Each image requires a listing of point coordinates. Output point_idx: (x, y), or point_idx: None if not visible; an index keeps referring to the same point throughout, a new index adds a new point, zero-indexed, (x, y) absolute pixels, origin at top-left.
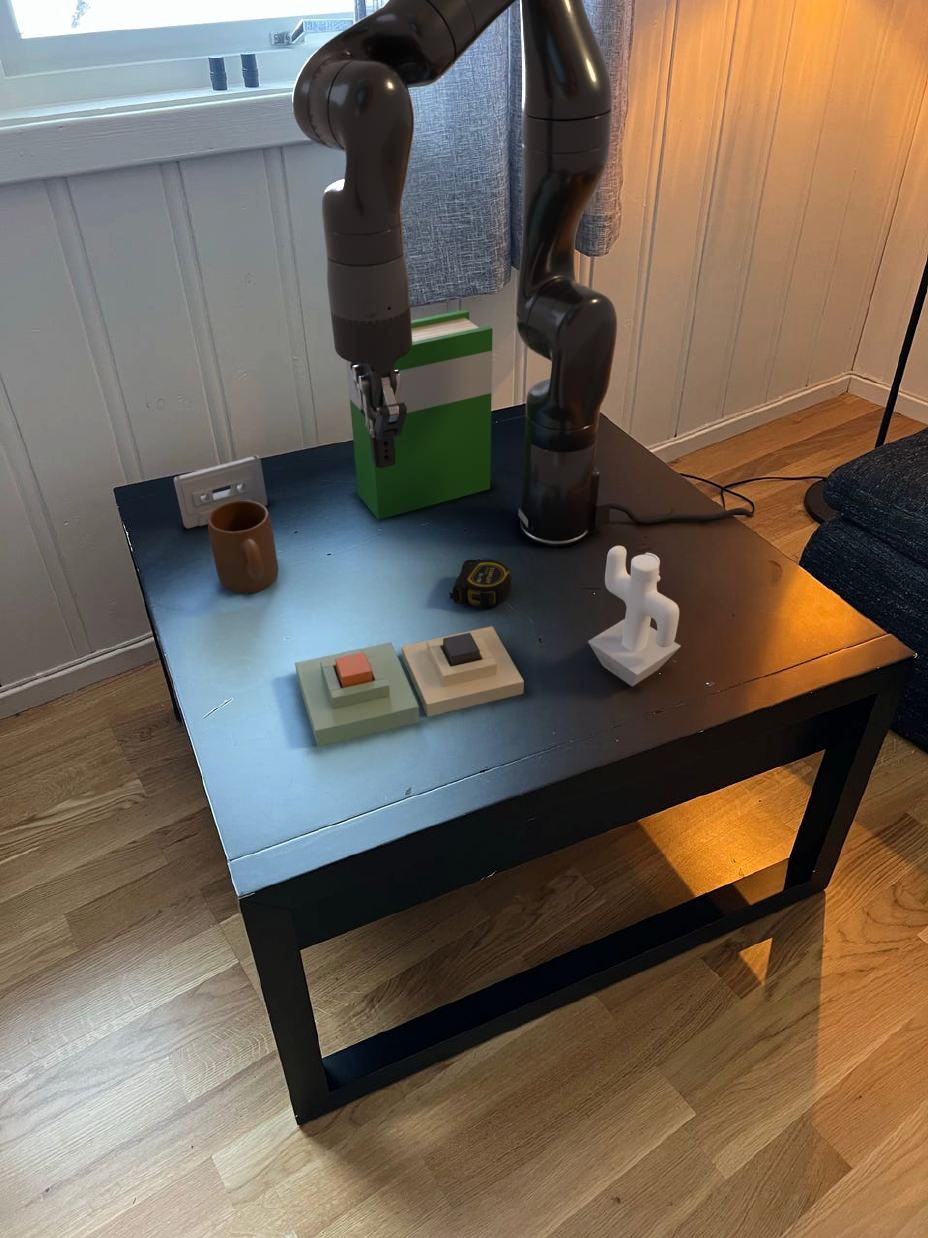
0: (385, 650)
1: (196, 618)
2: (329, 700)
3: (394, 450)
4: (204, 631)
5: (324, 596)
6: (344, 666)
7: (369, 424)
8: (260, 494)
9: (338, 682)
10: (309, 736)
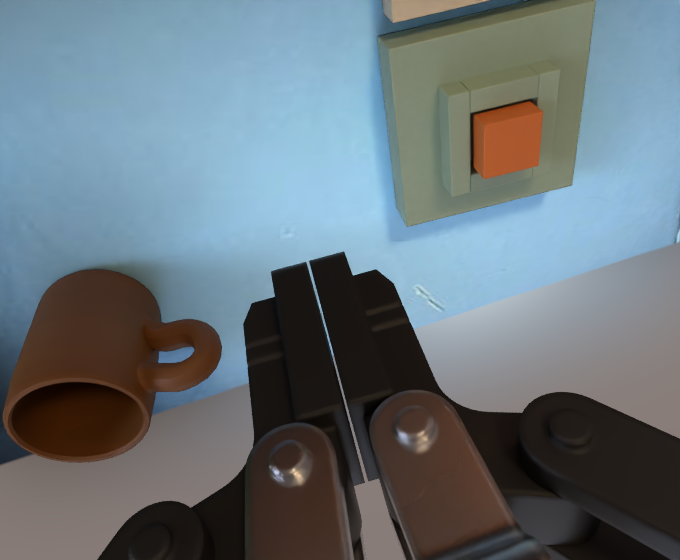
0: (414, 63)
1: (223, 357)
2: None
3: (360, 301)
4: None
5: (155, 178)
6: (511, 162)
7: (363, 543)
8: None
9: None
10: None
